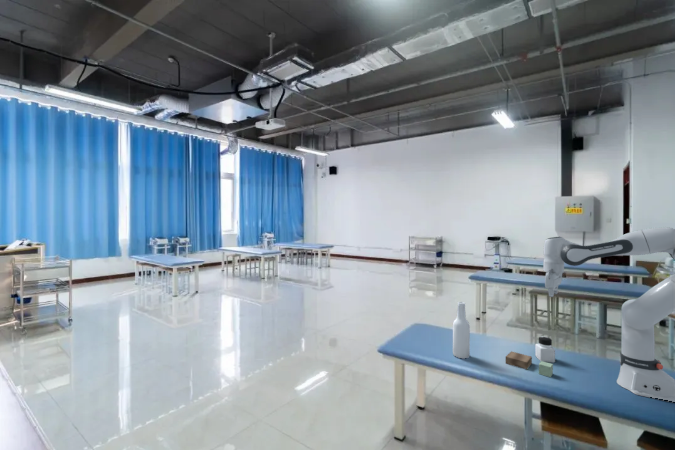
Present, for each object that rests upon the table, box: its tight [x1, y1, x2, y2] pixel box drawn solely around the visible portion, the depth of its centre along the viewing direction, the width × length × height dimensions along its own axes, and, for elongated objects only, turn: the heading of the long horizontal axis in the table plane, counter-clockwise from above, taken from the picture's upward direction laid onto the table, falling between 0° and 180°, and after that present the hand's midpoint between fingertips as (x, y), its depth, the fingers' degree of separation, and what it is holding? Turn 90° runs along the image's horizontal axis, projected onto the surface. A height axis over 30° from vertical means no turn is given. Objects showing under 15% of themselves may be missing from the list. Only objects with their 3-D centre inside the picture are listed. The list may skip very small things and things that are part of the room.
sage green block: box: [538, 361, 554, 378], centre depth 157 cm, size 5×5×5 cm
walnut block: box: [505, 350, 533, 370], centre depth 169 cm, size 10×10×4 cm
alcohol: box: [452, 301, 471, 360], centre depth 179 cm, size 9×9×30 cm
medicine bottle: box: [534, 335, 556, 363], centre depth 175 cm, size 7×7×12 cm
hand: (553, 295), depth 163 cm, fingers open, 8 cm apart
